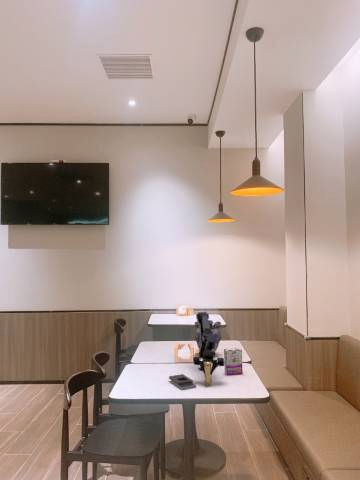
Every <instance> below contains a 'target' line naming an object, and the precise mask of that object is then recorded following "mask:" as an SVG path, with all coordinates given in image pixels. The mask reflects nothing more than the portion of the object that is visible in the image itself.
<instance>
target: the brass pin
mask: <svg viewBox="0 0 360 480" xmlns="http://www.w3.org/2000/svg"><path fill="white" fill-rule="evenodd" d="M204 365H205V374H204V386H205V387H206V388H207V387H208V388H209V387H212V386H213V385H212V375H211V369H212V362H211V361H204Z"/></svg>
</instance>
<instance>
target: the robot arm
mask: <svg viewBox="0 0 360 480" xmlns="http://www.w3.org/2000/svg"><path fill="white" fill-rule="evenodd" d="M209 315H210V314H209V313H207V311H202V312H201V311H199V312H197V313H196V314H195V317H196V322H198V323H199V325H200V337H201V347H200V349H199V348H198V354H197V356H193V358H192V360H193V361H192V362H193V365H194V366H200V367H198V370H200V371H202V372H203V375H205V365H204V361H211V362H212V364H211V376H213V373H214V371H215V370H216V369H217V368H219V367H225V365H224V357H218V356H217V358H216V359H215V357H214V355H215V356H216V351H215V349H214V347H215V344H216V340H217V338H216V336H215V335H213V331H211V330H210V326H209V321H208V320H210V316H209Z"/></svg>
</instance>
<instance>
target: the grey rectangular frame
mask: <svg viewBox="0 0 360 480" xmlns="http://www.w3.org/2000/svg"><path fill="white" fill-rule="evenodd" d="M168 379H169V380H170V381H171V384H172V385H174V386H175V387H176V388H177V389H179V390H180V391H185V390H190V389H196V388H197V384H195V383H194V381H193V379H192V378H190V377H188V376H186V375H185V374H175V375H169V376H168Z"/></svg>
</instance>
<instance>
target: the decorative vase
mask: <svg viewBox="0 0 360 480" xmlns="http://www.w3.org/2000/svg"><path fill="white" fill-rule="evenodd" d="M208 321H209V326H210V330H211V331H213V335H215V336H216V338H217V340H216V344H215V347H214V349H215V352H216V351H217V349H218V347H219V346H220V342H221V339H222V337H221V334H220V329H219V328H220V327H221V326H222V322H221V321H216V322H214V321H213V320H210V319H208ZM194 327H196V331H195V333H196V334H195V336H194V339H195V342H196V345H197V348H198V350H199V349H200V347H201V337H200V325H199V323H198V322H197V321H195V322H194ZM215 356H216V354H215V355H214V358H215Z"/></svg>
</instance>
